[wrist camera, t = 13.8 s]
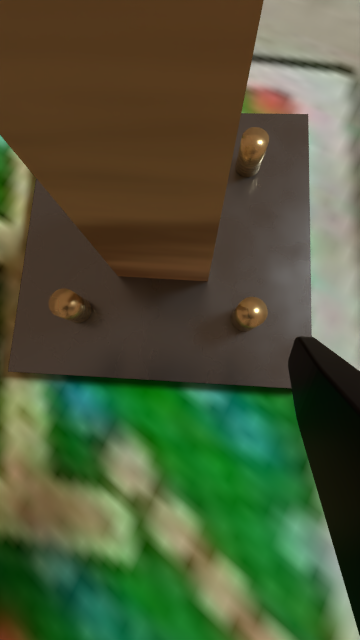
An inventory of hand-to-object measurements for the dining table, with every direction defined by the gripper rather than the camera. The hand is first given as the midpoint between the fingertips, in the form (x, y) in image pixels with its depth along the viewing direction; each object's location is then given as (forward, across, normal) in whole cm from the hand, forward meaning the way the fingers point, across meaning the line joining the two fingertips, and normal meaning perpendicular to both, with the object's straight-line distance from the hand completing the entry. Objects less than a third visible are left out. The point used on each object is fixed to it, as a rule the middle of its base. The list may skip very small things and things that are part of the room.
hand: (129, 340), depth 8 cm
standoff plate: (+10, 0, +1) cm, 11 cm away
